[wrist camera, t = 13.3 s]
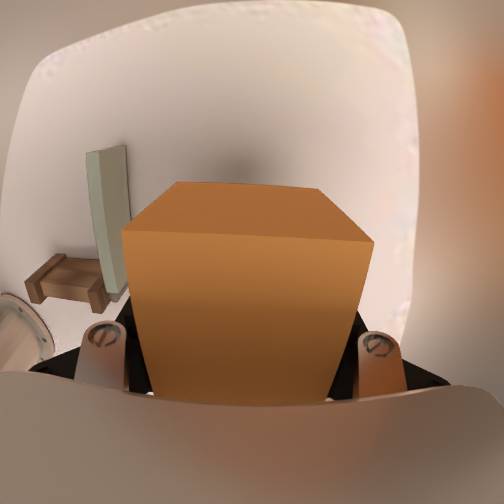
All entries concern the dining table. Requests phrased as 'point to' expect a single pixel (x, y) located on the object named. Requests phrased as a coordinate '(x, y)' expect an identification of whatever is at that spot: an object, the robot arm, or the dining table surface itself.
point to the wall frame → (69, 282)
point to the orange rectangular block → (244, 291)
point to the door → (109, 214)
